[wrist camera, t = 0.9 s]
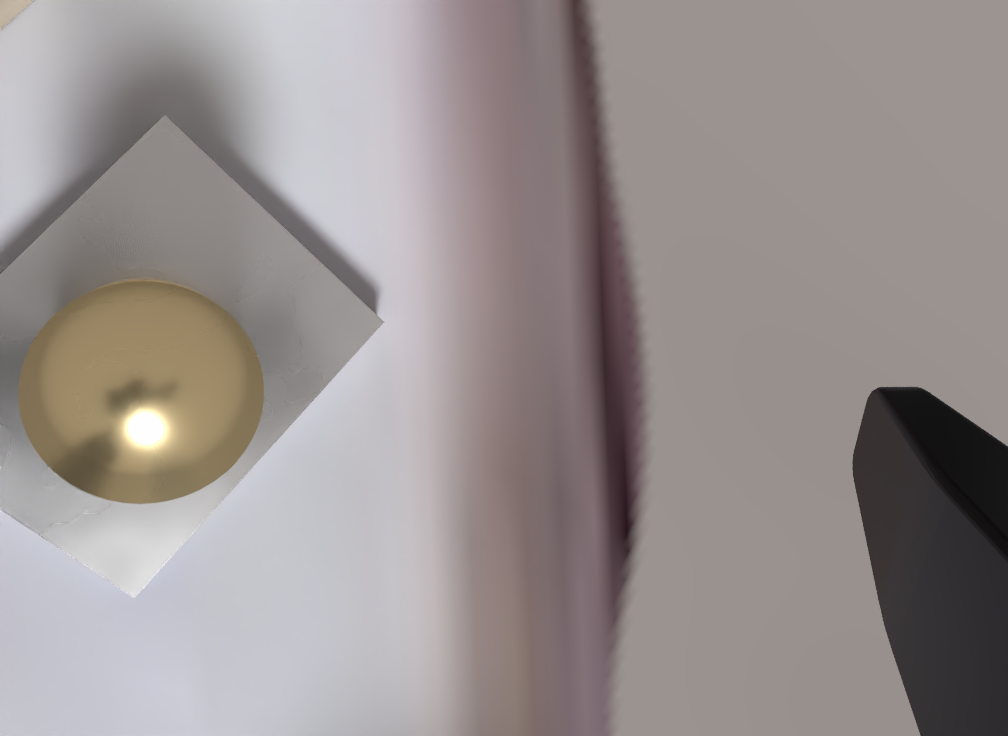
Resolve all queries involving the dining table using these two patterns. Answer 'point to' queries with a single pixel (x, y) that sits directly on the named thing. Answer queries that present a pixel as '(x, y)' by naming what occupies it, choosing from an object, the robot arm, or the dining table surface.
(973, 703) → the robot arm
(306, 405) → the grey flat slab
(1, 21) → the hole deck
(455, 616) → the dining table surface
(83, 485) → the gold cylinder
